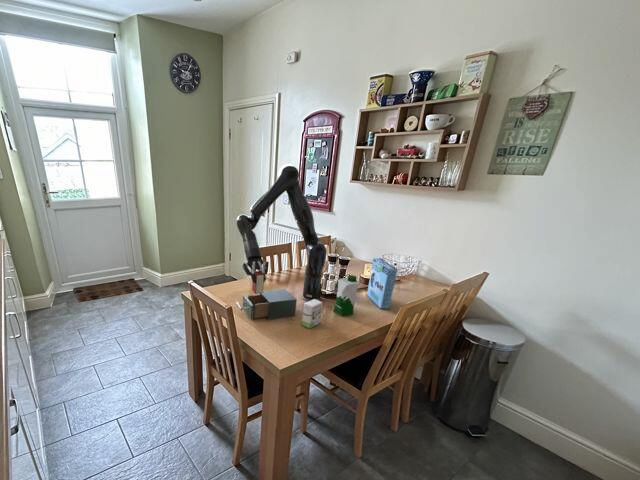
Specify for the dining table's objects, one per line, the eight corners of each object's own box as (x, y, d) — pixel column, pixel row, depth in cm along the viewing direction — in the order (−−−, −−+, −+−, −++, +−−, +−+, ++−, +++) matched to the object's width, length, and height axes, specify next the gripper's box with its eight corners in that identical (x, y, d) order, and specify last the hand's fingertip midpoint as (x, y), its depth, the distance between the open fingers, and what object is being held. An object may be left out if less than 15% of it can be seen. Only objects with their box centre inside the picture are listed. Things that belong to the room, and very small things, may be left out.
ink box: (309, 328, 157) (312, 306, 152) (301, 325, 160) (303, 303, 155) (320, 323, 162) (323, 301, 157) (311, 319, 165) (314, 298, 160)
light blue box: (388, 309, 178) (398, 269, 169) (379, 309, 178) (388, 269, 168) (374, 294, 196) (382, 258, 186) (366, 294, 196) (373, 257, 186)
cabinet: (268, 319, 164) (269, 302, 160) (258, 307, 177) (259, 291, 173) (295, 316, 168) (296, 299, 164) (283, 304, 181) (285, 288, 177)
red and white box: (259, 289, 167) (260, 270, 163) (263, 293, 162) (264, 274, 158) (252, 290, 166) (252, 271, 161) (255, 294, 161) (256, 275, 157)
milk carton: (355, 314, 171) (362, 278, 163) (341, 317, 168) (347, 281, 160) (344, 307, 179) (350, 273, 170) (331, 310, 175) (336, 275, 167)
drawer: (241, 320, 161) (242, 306, 157) (234, 309, 172) (234, 296, 169) (275, 316, 166) (276, 302, 162) (266, 305, 177) (267, 292, 174)
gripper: (240, 248, 160) (247, 280, 154) (267, 246, 164) (275, 277, 158) (237, 255, 167) (243, 286, 161) (263, 253, 171) (270, 283, 165)
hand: (259, 281), depth 160 cm, fingers closed on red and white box, 4 cm apart
